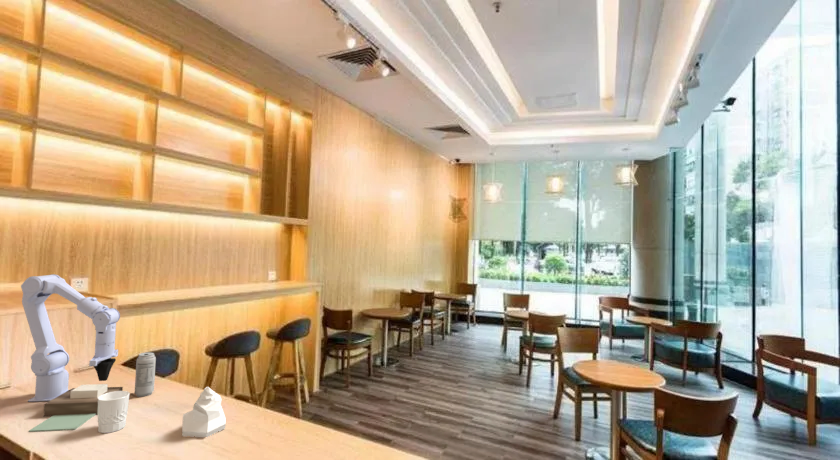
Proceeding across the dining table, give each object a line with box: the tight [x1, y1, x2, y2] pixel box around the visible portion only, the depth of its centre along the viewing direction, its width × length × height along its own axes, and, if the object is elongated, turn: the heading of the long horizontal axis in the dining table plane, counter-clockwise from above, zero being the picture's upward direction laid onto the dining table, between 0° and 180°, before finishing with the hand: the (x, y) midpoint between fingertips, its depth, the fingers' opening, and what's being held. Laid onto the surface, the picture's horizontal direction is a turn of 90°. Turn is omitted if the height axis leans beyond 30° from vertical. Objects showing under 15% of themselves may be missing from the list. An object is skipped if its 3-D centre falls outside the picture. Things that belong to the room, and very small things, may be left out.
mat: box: [28, 413, 97, 433], centre depth 126 cm, size 11×12×1 cm
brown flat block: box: [43, 386, 124, 417], centre depth 139 cm, size 14×16×4 cm
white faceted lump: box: [181, 386, 227, 438], centre depth 126 cm, size 12×15×14 cm
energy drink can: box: [134, 351, 157, 398], centre depth 151 cm, size 6×6×15 cm
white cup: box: [97, 390, 130, 434], centre depth 124 cm, size 8×8×10 cm
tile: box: [70, 383, 109, 399], centre depth 139 cm, size 6×8×2 cm
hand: (103, 380), depth 147 cm, fingers closed
